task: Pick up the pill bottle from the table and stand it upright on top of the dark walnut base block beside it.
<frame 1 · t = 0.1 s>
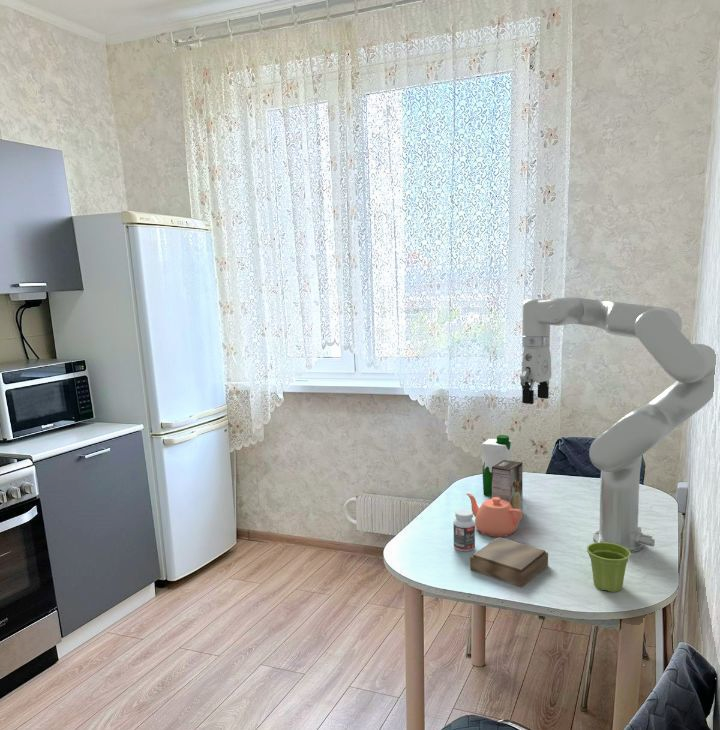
hand: (535, 400, 170), 37 cm above the table, tool pointing down, fingers open, 9 cm apart
coffee box: (507, 515, 181), on the table
plant pot: (607, 586, 137), on the table
teapot: (493, 529, 171), on the table
walnut base: (509, 567, 147), on the table
pill bottle: (464, 548, 159), on the table
milk carton: (496, 493, 200), on the table
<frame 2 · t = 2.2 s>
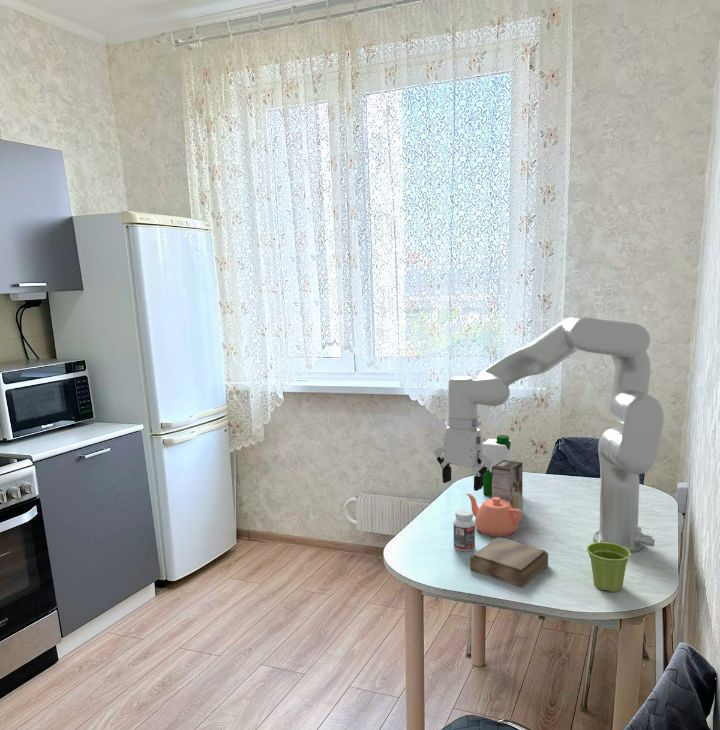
hand: (462, 485, 157), 17 cm above the table, tool pointing down, fingers open, 9 cm apart
nothing on the table moved.
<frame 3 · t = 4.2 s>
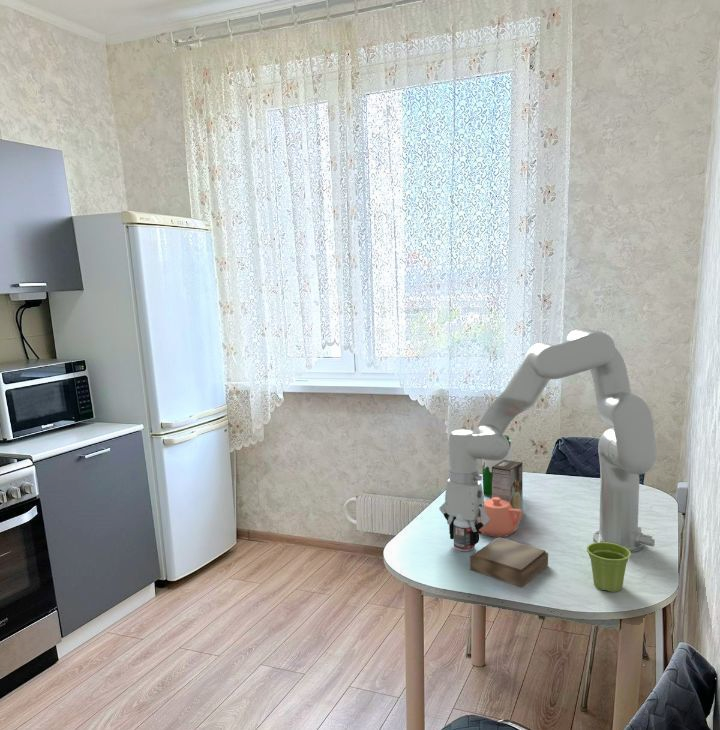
hand: (464, 540, 159), 2 cm above the table, tool pointing down, fingers closed on pill bottle, 5 cm apart
pill bottle: (464, 548, 159), on the table, touching gripper
everything else where it was.
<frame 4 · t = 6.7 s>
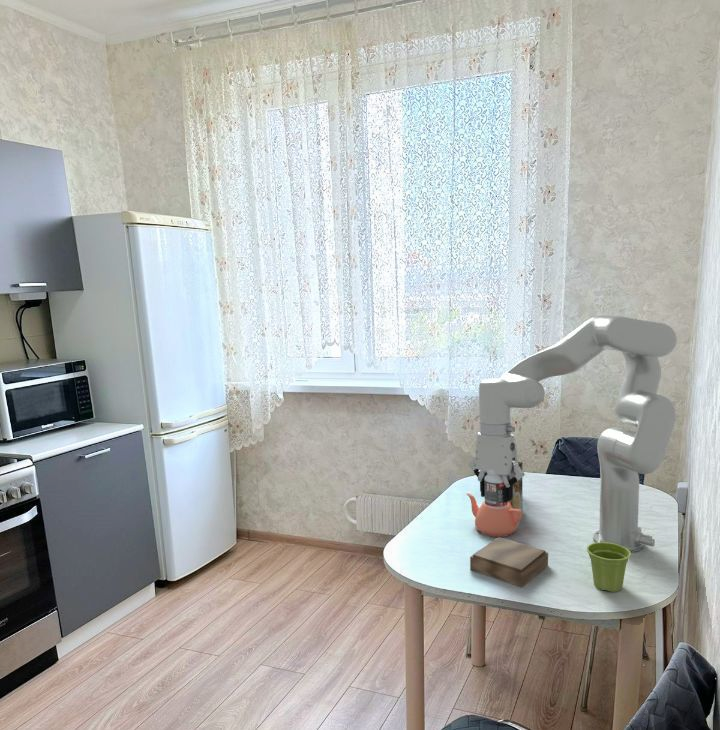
hand: (496, 497, 148), 17 cm above the table, tool pointing down, fingers closed on pill bottle, 5 cm apart
pill bottle: (496, 506, 149), point 15 cm above the table, touching gripper
everything else where it was.
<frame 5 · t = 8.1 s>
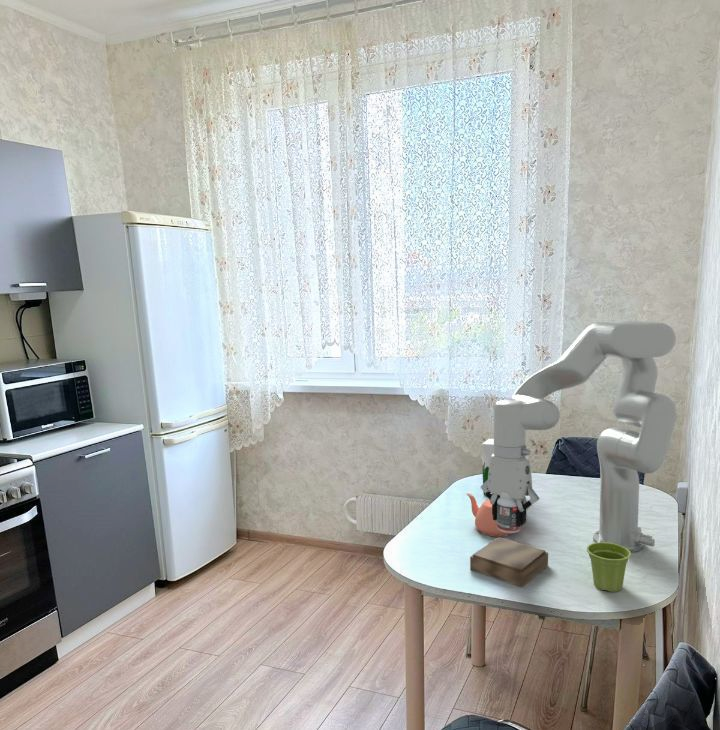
hand: (508, 521, 145), 12 cm above the table, tool pointing down, fingers closed on pill bottle, 5 cm apart
pill bottle: (508, 529, 145), point 10 cm above the table, touching gripper
everything else where it was.
when the fingers open (7 cm above the table, at t = 9.4 s): pill bottle drops 1 cm, resting on walnut base.
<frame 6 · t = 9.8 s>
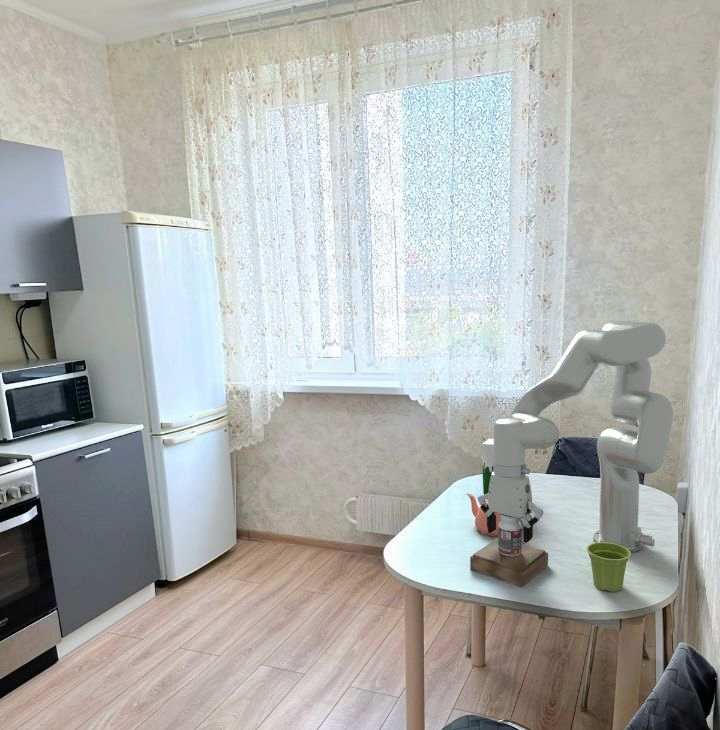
hand: (509, 536, 146), 8 cm above the table, tool pointing down, fingers open, 9 cm apart
pill bottle: (509, 553, 146), point 4 cm above the table, touching walnut base
everything else where it was.
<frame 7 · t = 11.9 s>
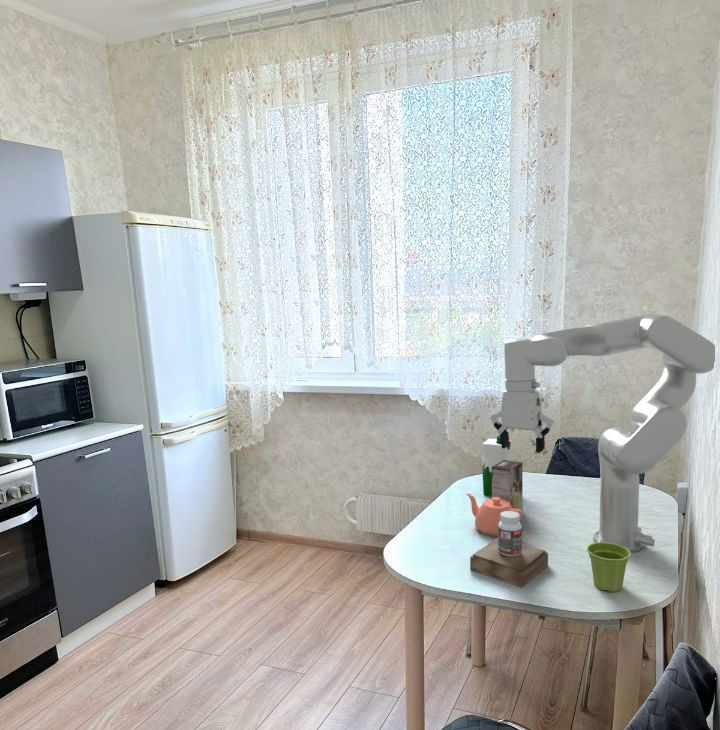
hand: (522, 449, 155), 27 cm above the table, tool pointing down, fingers open, 9 cm apart
nothing on the table moved.
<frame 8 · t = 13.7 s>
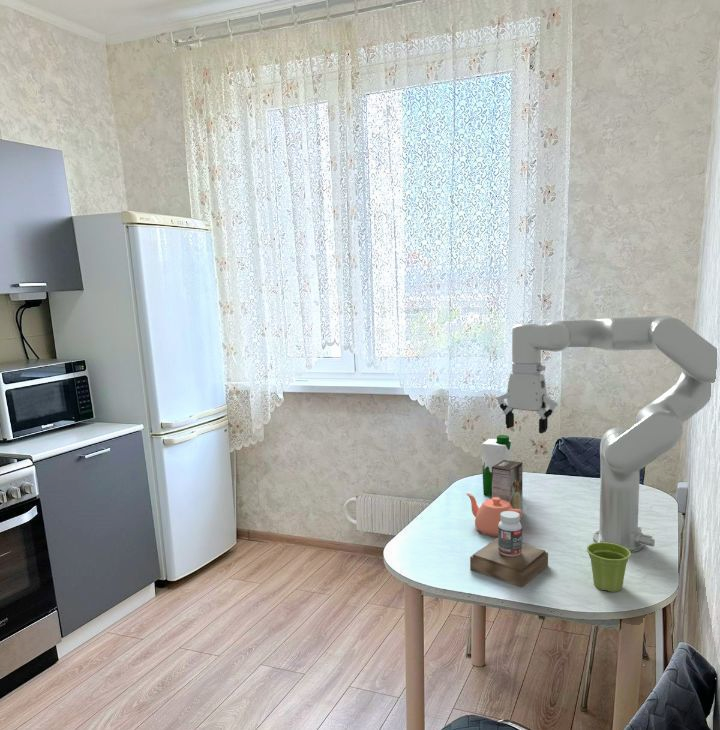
hand: (526, 429, 162), 30 cm above the table, tool pointing down, fingers open, 9 cm apart
nothing on the table moved.
at the end: pill bottle inside the target area on the walnut base (0.1 cm from its centre), point 3.8 cm above the walnut base's base; pill bottle tilted 0°; the gripper is holding nothing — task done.
